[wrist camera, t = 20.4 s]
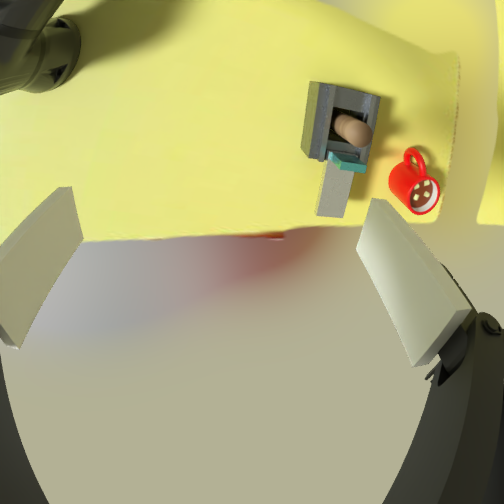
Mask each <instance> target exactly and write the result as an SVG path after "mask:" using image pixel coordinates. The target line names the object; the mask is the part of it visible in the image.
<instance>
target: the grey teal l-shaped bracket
mask: <svg viewBox="0 0 504 504" xmlns="http://www.w3.org/2000/svg"><path fill="white" fill-rule="evenodd" d="M366 168H367V165H366V164H365V163H363V162H362V161H361V160H360V159H359V158H358V156H357V155H355V154H351V153H345V152H339V151H332V150H327V152H326V158H325V163H324V168H323V174H322V179H321V184H320V189H319V194H318V198H317V203H316V208H315V214H316V216H325V217H337V218H343V216H344V212H345V208H346V204H347V200H348V197H349V193H350V189H351V184H352V180H353V176H354V172H359V173H365V172H366Z"/></svg>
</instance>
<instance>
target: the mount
mask: <svg viewBox="0 0 504 504" xmlns="http://www.w3.org/2000/svg"><path fill="white" fill-rule="evenodd" d="M379 102H380V97H378V96H375V95H372V94H368V93H364V92H360V91H356V90H352V89H347V88H343V87H338V86H334V85H329V84H324V83H318V82H311V81H310V83H309V91H308V99H307V106H306V113H305V120H304V128H303V134H302V141H301V149H302V150H303V152H304V153H305V154H306V155H307V157H308V158H313V159H317V160H318V161H320V162H324V160H325V158H326V152H327V150H332V151H339V152H345V153H351V154H355V155H357V156H358V158H359V159H360V160H361V161H362V162H363V163H365V164H366V165H367V161H368V157H369V152H370V148H371V143H372V140H371V142H370V143H369V145H367V146H366V147H363V148H358V147H355V146H354V145H352V144H351V143H350V142H348V141H347V140H345V139H344V138H342V137H341V136H340V135H335V134H329V128H330V122H331V116H332V110H333V107H338V108H343V109H348V110H350V112H349V116H351V117H353V118H355V119H357V120H360V121H362V122H364V123H366V124H367V125H369V126H370V128H371V129H372V133H373V134H374V129H375V124H376V119H377V113H378V108H379ZM372 138H373V137H372Z"/></svg>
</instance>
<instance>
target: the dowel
mask: <svg viewBox="0 0 504 504" xmlns="http://www.w3.org/2000/svg"><path fill="white" fill-rule="evenodd" d="M329 129H331V130H332V131H334V132H335V133H337V134H338V135H340V136H341V137H342V138H344V139H345V140H347V141H348V142H350V143H351V144H352V145H354V146H355V147H358V148H363V147H366V146H367V145H369V143H370V142H371V140H372V137H373V133H372V129H371V128H370V126H369V125H367V124H366V123H364V122H362V121H360V120H357V119H355V118H353V117H351V116H349V115H347V114H344V113H342V112H340V111H338V110H334V109H333V110H332V116H331V122H330V128H329Z"/></svg>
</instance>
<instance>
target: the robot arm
mask: <svg viewBox="0 0 504 504" xmlns="http://www.w3.org/2000/svg"><path fill="white" fill-rule="evenodd" d="M63 1H64V0H0V95H2V94H5V93H9V92H12V91H15V90H18V89H19V90H23V91H27V92H30V93H42V92H46V91H50V90H52V89H54V88H56V87H58V86H59V85H60V84H62V83H63V82H64V81H65V80H66V78H67V77H68V76H69V75H70V73H71V72H72V70H73V68H74V66H75V64H76V62H77V60H78V57H79V53H80V46H81V39H80V33H79V30H78V28H77V26H76V25H75V24H74V23H73V22H72V21H70V20H68V19H64V18H51V17H52V16H53V14H54V13H55V12H56V10H57V9H58V8H59V6H60V5H61V4H62V2H63ZM83 239H84V238H83V234H82V231H81V227H80V223H79V219H78V214H77V210H76V206H75V201H74V196H73V191H72V186H71V187H59V188H57V189H56V190H55V191H54V192H53V193H52V194H51V195H50V196H48V197H47V198H46V199H45V200H44V201H43V202H42V203H41V204H40V205H39V206H38V207H37V208H36V209H35V210H34V211H33V212H32V213H31V214H30V215H29V216H28V217H27V218H26V219H25V220H24V221H23V222H22V223H21V224H20V225H19V226H18V227H17V228H16V229H15V230H14V231H13V232H12V233H11V234H10V235H9V236H8V238H7V239H6V240H5V241H4V242H3V243H2V244H1V246H0V338H1V339H2V341H3V342H4V343H5V345H6V346H9V347H12V348H15V349H18V350H19V349H20V348H21V345H22V343H23V341H24V339H25V337H26V335H27V333H28V331H29V329H30V327H31V325H32V323H33V321H34V319H35V317H36V315H37V313H38V311H39V310H40V308H41V306H42V304H43V302H44V300H45V299H46V297H47V295H48V293H49V292H50V290H51V288H52V287H53V285H54V283H55V282H56V280H57V278H58V277H59V275H60V273H61V272H62V270H63V269H64V267H65V266H66V264H67V263H68V261H69V259H70V258H71V256H72V255H73V253H74V252H75V250H76V249H77V247H78V246H79V245H80V243H81V242H82V240H83ZM356 251H357V253H358V254H359V256H360V258H361V260H362V262H363V263H364V265H365V267H366V269H367V271H368V273H369V275H370V277H371V279H372V281H373V283H374V285H375V287H376V289H377V291H378V292H379V295H380V297H381V299H382V300H383V302H384V305H385V307H386V309H387V311H388V313H389V315H390V317H391V319H392V322H393V324H394V326H395V328H396V330H397V333H398V335H399V337H400V339H401V342H402V344H403V346H404V348H405V351H406V353H407V356H408V358H409V360H410V363H411V365H412V367H417V366H422V365H426V364H429V363H430V362H431V360H432V359H433V358H434V357H435V356H436V355H437V354H439V356H440V358H441V360H440V361H439V363H438V364H437V365H436V366H435V367H434V368H433V369H432V370H431V371H430V372H429V373H428V374H427V376H426V378H425V380H428V378H430V377H431V376H432V375H433V374H434V377H433V380H431V383H432V384H431V388H430V392H429V395H428V398H427V401H426V405H425V408H424V411H423V414H422V417H421V420H420V423H419V425H418V428H417V431H416V433H415V436H414V438H413V441H412V444H411V446H410V449H409V451H408V453H407V455H406V458H405V460H404V462H403V464H402V467H401V469H400V471H399V473H398V475H397V477H396V479H395V481H394V483H393V485H392V487H391V489H390V491H389V493H388V494H387V496H386V498H385V500H384V502H383V503H382V504H504V329H502V328H501V326H500V324H499V323H498V321H497V320H496V319H495V318H494V317H493V316H491V315H490V314H488V313H485V312H480V313H479V314H478V313H477V311H476V309H475V308H474V306H473V305H472V303H471V302H470V300H469V299H468V297H467V296H466V294H465V293H464V292H463V290H462V289H461V287H459V286H458V283H457V282H456V280H455V279H453V276H452V275H451V273H450V272H449V271H448V270H447V268H446V267H445V266H444V265H443V264H441V263H440V262H439V261H438V260H437V258H436V257H435V256H434V255H433V253H432V252H431V251H430V249H429V248H428V247H427V246H426V245H425V243H424V242H423V241H422V240H421V239H420V237H419V236H418V235H417V234H416V232H415V231H414V230H413V229H412V228H411V227H410V225H409V224H408V223H407V222H406V221H405V220H404V219H403V218H402V216H401V215H400V214H399V213H398V212H397V211H396V210H395V209H394V208H393V207H392V205H391V204H390V203H389V202H388V201H387V200H384V199H377V198H372V199H371V203H370V206H369V209H368V213H367V216H366V219H365V222H364V226H363V229H362V232H361V235H360V238H359V241H358V244H357V247H356ZM0 504H49V503H48V501H47V499H46V497H45V495H44V493H43V491H42V489H41V487H40V485H39V483H38V481H37V479H36V477H35V474H34V472H33V470H32V468H31V465H30V463H29V460H28V458H27V455H26V453H25V450H24V448H23V445H22V442H21V439H20V436H19V433H18V430H17V427H16V424H15V420H14V417H13V413H12V410H11V406H10V402H9V398H8V394H7V389H6V385H5V380H4V374H3V369H2V363H1V356H0Z"/></svg>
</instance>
